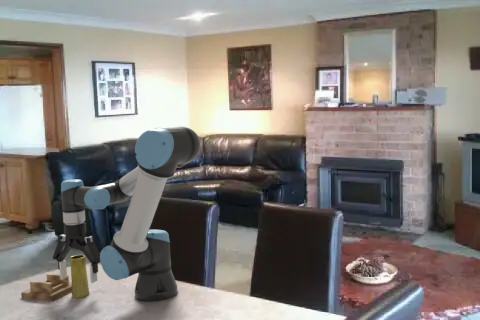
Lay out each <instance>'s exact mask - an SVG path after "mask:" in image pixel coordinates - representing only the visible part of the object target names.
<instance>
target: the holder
mask: <svg viewBox="0 0 480 320" xmlns="http://www.w3.org/2000/svg"><path fill="white" fill-rule="evenodd" d="M69 279H70V278H69V275H68V274H67V278H64V279H62V280H61V279H60V274H56V273H46V280H45V281H36V280H30V281H29V289H27V290H24V291H22V292H21V293H20V294H21V295H20V296H21V299H26V300H34V301H35V300H37V301H44V302H54V301H56V300H58V299H60V298H62V297H63V296H66V295H68V294H69V293H72V281H70V280H69Z"/></svg>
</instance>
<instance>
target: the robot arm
mask: <svg viewBox="0 0 480 320" xmlns="http://www.w3.org/2000/svg"><path fill="white" fill-rule="evenodd" d="M200 152H201V139H200V137H199V136H198V134H197V132H196V131H194V130H193V129H191V128H189V127H186V126H175V127H174V126H173V127H155V128H152V129H148V130H146V131H144V132H143V133H141V134H140V136H139V137H138V138H137V140H136V142H135V147H134V154H136V155H135V159H136V161H137V166H136V167H135V168H134V169H132V170H130V171H129V172H128V173H127V174H125V175H124V176H122V177H120V179H117V181H115V182H111V183H106V184H101V185H94V186H85V185H84V182H83V180H82V179H78V178H77V179H67V180H63V181H62V182H61V184H60V185H61V187H60V191H61V192H60V195H61V203H62V205H61V207H62V222H63V234H60V235H58V237H57V238H58V239H57V245H56V246H55V249H54V253H53V255H52V259H53V260H55V261H57V265H58V266H57V267H58V270H59V275H60V279H61V280H62V279H64V278H67V275H68V271H67V261H66V259H65V258H66V257H67V255H68V253H69V252H70V250H71V249H75V250H80V252H81V251H82V253H83V255H85V258H87V260H88V261H89V262H90V265H89V272H90V273H89V274H90V284H94V283H95V282H97V281H98V273H99V264H100V265H101V268H102V270H103V272H104V273H105V275H106V276H108V278H109V279H112V280H115V281H120V280H123V279H127V278H129V277H131V276H134V275H136V274H138V275H137V279H136V283H135V288H134V297H135V298H136V299H137V300H140V301H145V302H156V301H162V300H163V301H164V300H166V299H170V298H172V297H174V296H175V295H177V294H178V292H179V291H178V284H177V281H176V278H175V276H174V274H173V271H172V259H171V241H170V237H169V236H170V234H169V233H168V232H167V231H166V230H164V229H163V230H162V229H152V228H151V225H152V223H153V219H154V217H155V214H156V211H157V209H158V206H159V203H160V201H161V198H162V194H163V192H164V190H165V189H164V188H165V186H166V183H167V180H168V179H169V180H170V179H171V178H173V177H174V175H175V172H176V170H177V168H183V167H185V166H186V165H187V164H190V163H191V162H193V161H195V159H197V157H198V156H199V153H200ZM128 201H130V202H129V204H128V207H127V210H126V214H125V216H124V219H123V222H122V225H121V228H120V230H119V231H117V232H115V233H114V234H113V237H112V239H111V243H110V245H106V246H104V247H103V248H102V249H101V251H100V252H99V249H98V247H97V244H96V243H95V238H94V236H93V235H90V236H86V233H87V225H86V224H87V223H86V222H85V221H86V210H85V209H90V210H94V211H96V210H105V208H106V207H107V206H110V205H115V204H119V203H124V202H125V203H126V202H128ZM150 228H151V229H150Z"/></svg>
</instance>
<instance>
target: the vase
mask: <svg viewBox="0 0 480 320" xmlns="http://www.w3.org/2000/svg"><path fill="white" fill-rule="evenodd" d="M69 260H70V261H69V262H70V263H69V264H70V275H71V276H70V277H71V278H70V279H71V282H72V292H71V297H72V298H76V299H79V298H85V297H87V296H89V295H90V289H89V280H88V273H87V263H86V256H85V254H77V255H71V256H70V257H69Z"/></svg>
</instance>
